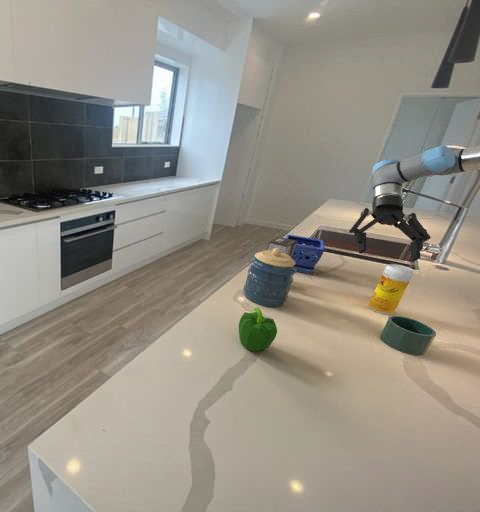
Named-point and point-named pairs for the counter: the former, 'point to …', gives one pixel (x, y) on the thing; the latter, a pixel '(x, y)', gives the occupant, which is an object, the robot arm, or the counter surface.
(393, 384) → the counter surface
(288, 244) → the coffee box
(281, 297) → the canister
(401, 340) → the holder
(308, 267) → the flower pot
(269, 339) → the bell pepper
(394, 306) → the yellow and white cup
